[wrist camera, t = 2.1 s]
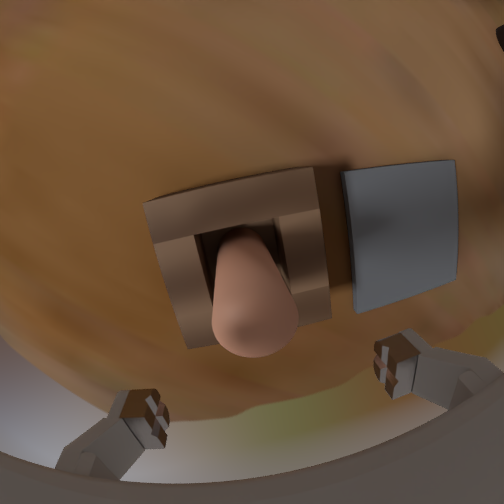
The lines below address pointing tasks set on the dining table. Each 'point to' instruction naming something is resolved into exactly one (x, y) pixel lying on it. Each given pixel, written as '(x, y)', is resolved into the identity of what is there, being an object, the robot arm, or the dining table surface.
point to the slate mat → (401, 230)
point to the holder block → (231, 217)
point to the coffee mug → (500, 36)
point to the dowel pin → (250, 298)
